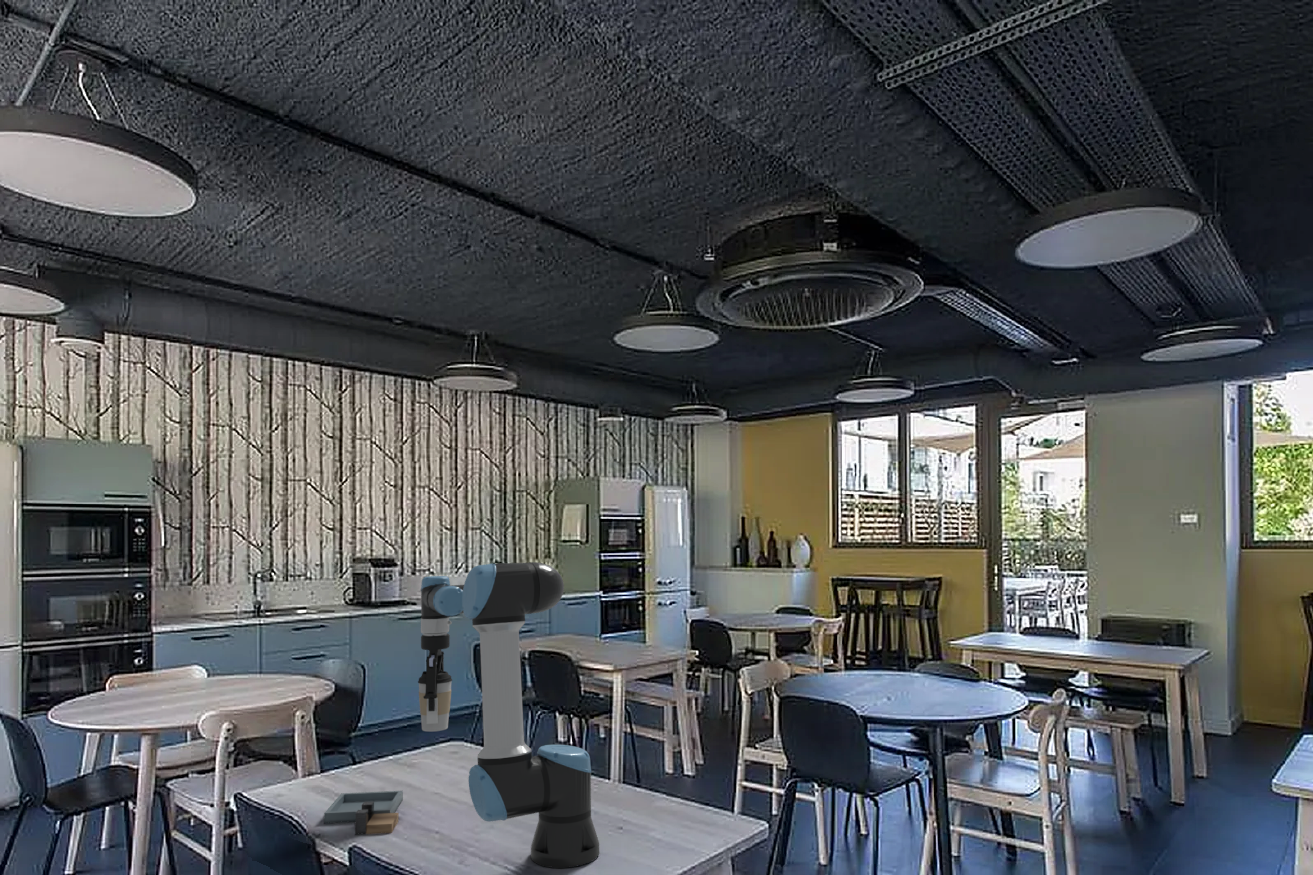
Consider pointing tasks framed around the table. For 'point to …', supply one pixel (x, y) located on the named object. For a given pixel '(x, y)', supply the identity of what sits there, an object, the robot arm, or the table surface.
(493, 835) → the table surface
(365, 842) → the table surface
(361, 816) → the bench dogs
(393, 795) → the tray
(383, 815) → the wooden block
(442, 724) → the coffee cup
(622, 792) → the table surface
